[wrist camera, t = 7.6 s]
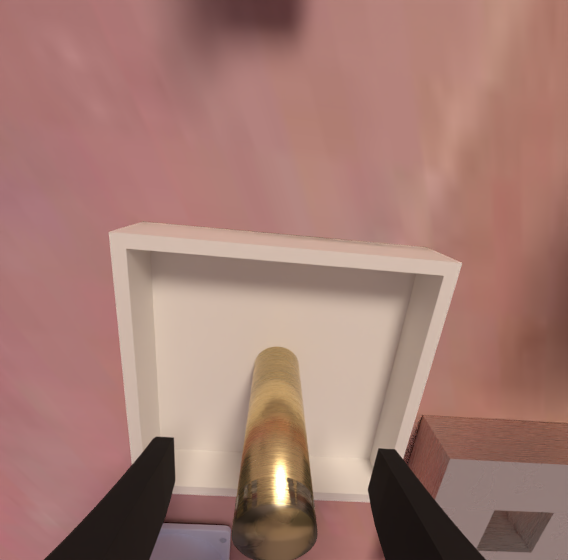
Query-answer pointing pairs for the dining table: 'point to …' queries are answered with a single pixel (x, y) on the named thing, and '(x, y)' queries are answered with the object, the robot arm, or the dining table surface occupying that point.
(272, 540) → the pin
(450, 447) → the grey square socket block
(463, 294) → the dining table surface
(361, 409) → the tray
